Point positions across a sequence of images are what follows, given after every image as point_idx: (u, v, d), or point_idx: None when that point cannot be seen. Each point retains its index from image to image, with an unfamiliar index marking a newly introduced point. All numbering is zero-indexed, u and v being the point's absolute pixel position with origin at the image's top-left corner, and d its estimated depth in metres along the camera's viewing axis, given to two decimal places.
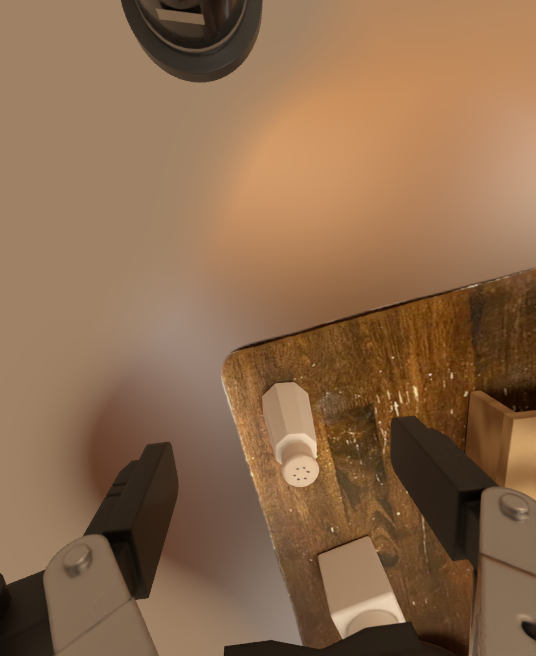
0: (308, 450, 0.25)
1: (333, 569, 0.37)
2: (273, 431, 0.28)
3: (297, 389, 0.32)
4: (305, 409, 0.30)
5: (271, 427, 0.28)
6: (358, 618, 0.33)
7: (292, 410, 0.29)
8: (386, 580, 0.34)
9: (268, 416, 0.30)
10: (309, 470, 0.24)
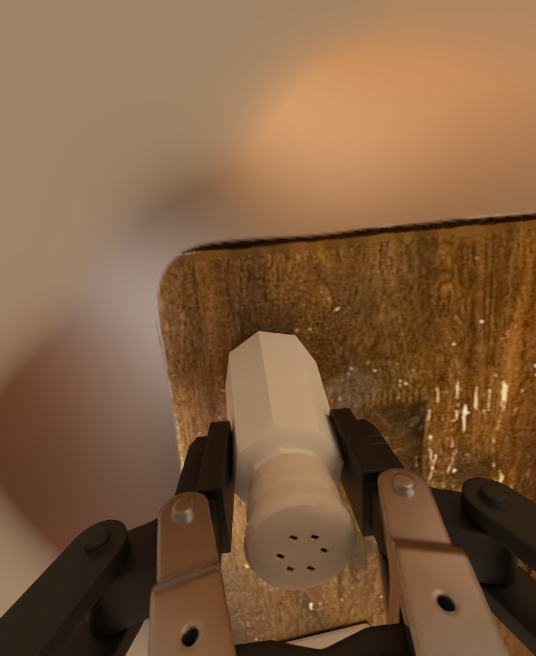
0: (328, 481, 0.09)
1: None
2: (238, 417, 0.11)
3: (300, 347, 0.16)
4: (315, 383, 0.14)
5: (236, 408, 0.12)
6: None
7: (290, 377, 0.13)
8: None
9: (234, 386, 0.14)
10: (329, 547, 0.08)
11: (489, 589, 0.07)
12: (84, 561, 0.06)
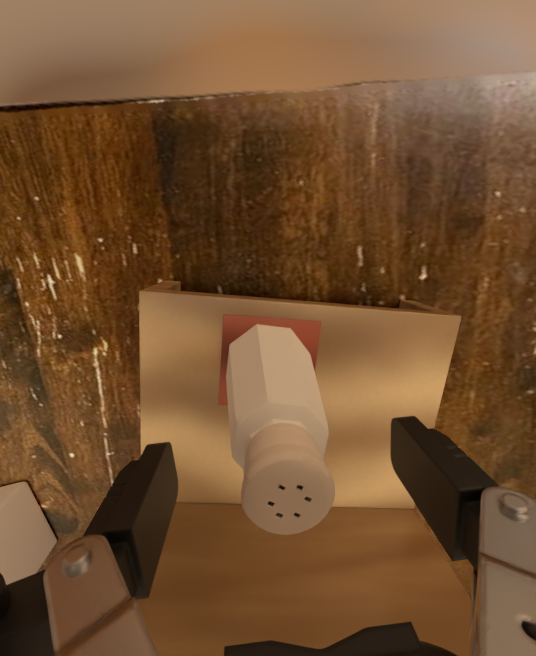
0: (313, 445, 0.10)
1: None
2: (237, 396, 0.13)
3: (294, 338, 0.18)
4: (307, 370, 0.15)
5: (235, 389, 0.13)
6: None
7: (284, 363, 0.14)
8: None
9: (233, 371, 0.15)
10: (312, 496, 0.09)
11: None
12: None
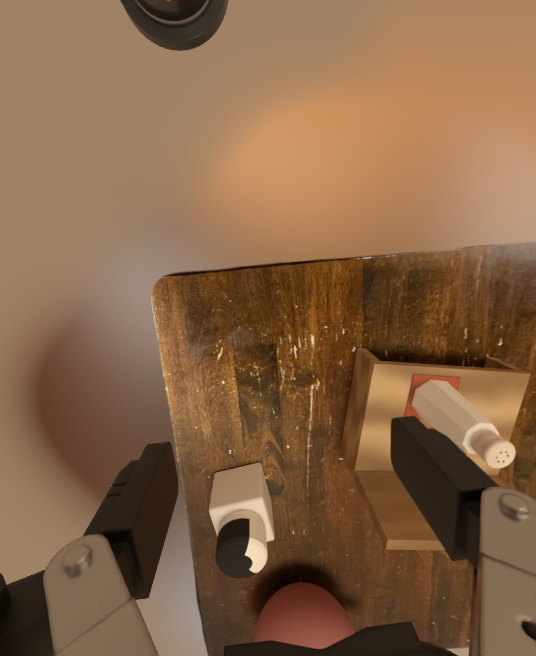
0: (502, 438, 0.29)
1: (223, 482, 0.44)
2: (455, 419, 0.32)
3: (452, 387, 0.37)
4: None
5: (450, 416, 0.32)
6: (230, 514, 0.39)
7: (466, 404, 0.33)
8: (261, 490, 0.41)
9: (438, 406, 0.34)
10: (509, 455, 0.28)
11: None
12: None
